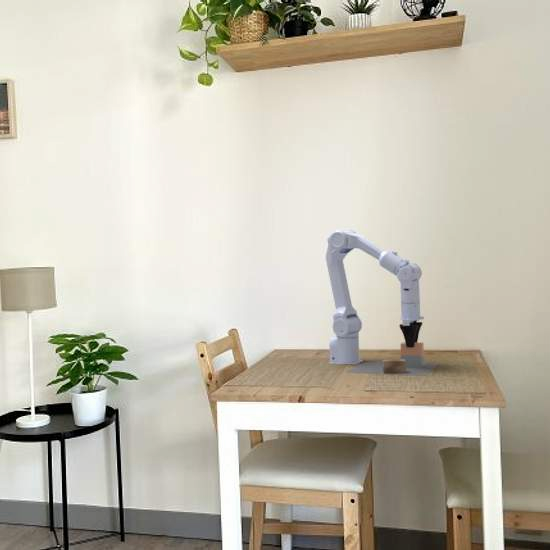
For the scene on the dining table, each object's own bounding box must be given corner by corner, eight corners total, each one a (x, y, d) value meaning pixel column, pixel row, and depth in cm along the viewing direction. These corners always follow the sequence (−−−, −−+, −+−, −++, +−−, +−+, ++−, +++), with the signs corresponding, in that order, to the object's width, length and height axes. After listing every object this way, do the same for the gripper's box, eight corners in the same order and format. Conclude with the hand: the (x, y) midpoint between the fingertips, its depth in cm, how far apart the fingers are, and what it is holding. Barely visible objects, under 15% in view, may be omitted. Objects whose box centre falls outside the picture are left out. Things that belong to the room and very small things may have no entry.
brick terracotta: (400, 355, 194) (400, 343, 194) (403, 353, 197) (402, 342, 197) (421, 355, 191) (421, 344, 191) (423, 354, 194) (423, 342, 194)
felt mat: (346, 373, 189) (346, 372, 189) (364, 362, 207) (364, 361, 207) (426, 377, 179) (426, 375, 179) (438, 364, 197) (438, 363, 197)
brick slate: (401, 366, 194) (400, 355, 194) (403, 364, 197) (402, 353, 197) (421, 367, 191) (421, 355, 191) (423, 365, 194) (423, 354, 194)
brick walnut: (384, 373, 184) (383, 361, 184) (383, 371, 187) (382, 359, 187) (406, 373, 184) (405, 360, 183) (404, 371, 187) (404, 359, 187)
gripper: (418, 304, 185) (420, 350, 186) (427, 300, 199) (429, 343, 199) (395, 304, 188) (396, 349, 189) (405, 300, 202) (407, 342, 202)
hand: (411, 346), depth 194 cm, fingers open, 4 cm apart
